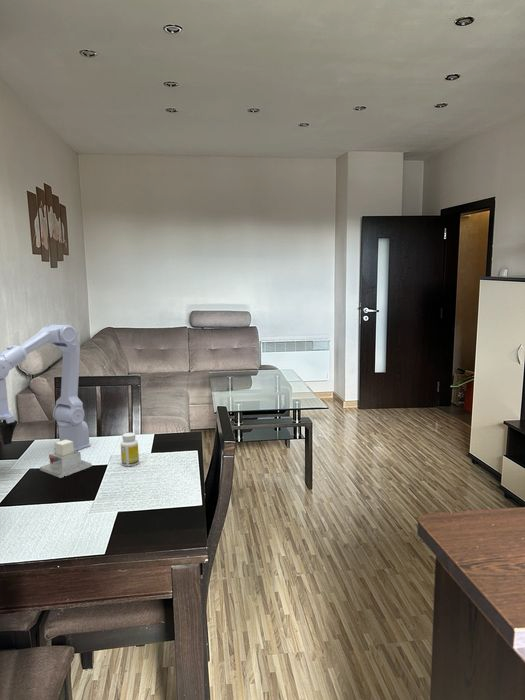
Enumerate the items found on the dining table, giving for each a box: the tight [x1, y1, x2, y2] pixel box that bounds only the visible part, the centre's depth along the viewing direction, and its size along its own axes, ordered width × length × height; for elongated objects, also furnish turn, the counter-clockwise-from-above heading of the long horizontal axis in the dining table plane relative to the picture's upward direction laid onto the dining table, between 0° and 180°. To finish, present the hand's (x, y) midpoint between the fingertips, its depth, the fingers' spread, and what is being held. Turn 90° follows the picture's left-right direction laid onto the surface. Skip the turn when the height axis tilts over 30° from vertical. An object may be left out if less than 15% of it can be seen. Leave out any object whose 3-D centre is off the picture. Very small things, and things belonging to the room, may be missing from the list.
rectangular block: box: [54, 440, 74, 457], centre depth 155 cm, size 4×4×8 cm
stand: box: [39, 450, 92, 479], centre depth 156 cm, size 11×11×5 cm
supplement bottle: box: [120, 432, 140, 467], centre depth 159 cm, size 5×5×10 cm
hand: (1, 441), depth 151 cm, fingers open, 7 cm apart
